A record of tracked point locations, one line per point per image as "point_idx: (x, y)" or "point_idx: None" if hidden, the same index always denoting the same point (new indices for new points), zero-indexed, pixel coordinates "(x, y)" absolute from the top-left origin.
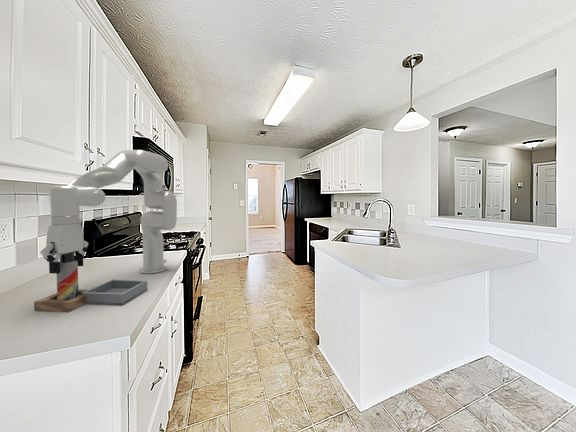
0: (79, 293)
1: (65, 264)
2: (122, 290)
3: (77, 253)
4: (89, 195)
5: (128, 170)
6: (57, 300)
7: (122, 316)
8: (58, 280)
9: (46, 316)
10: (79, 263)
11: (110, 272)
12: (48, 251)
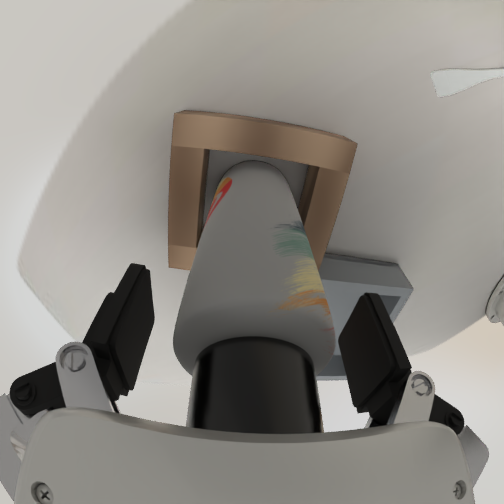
0: (303, 222)
1: (188, 372)
2: (348, 314)
3: (390, 407)
4: None
5: None
6: (192, 205)
7: (170, 364)
8: (198, 245)
9: (139, 200)
10: (347, 346)
11: None
12: (22, 453)
